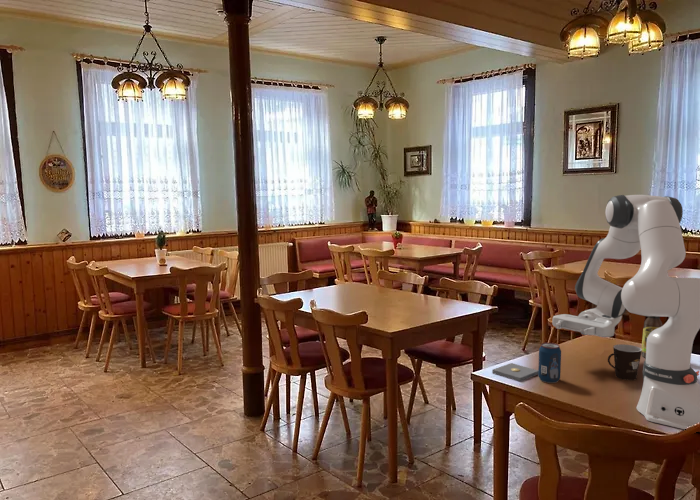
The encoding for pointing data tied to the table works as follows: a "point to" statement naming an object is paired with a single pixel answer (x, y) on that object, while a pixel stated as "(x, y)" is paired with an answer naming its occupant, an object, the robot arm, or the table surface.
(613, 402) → the table surface
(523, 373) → the slate board
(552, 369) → the soda can
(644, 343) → the sauce bottle
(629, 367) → the coffee mug
